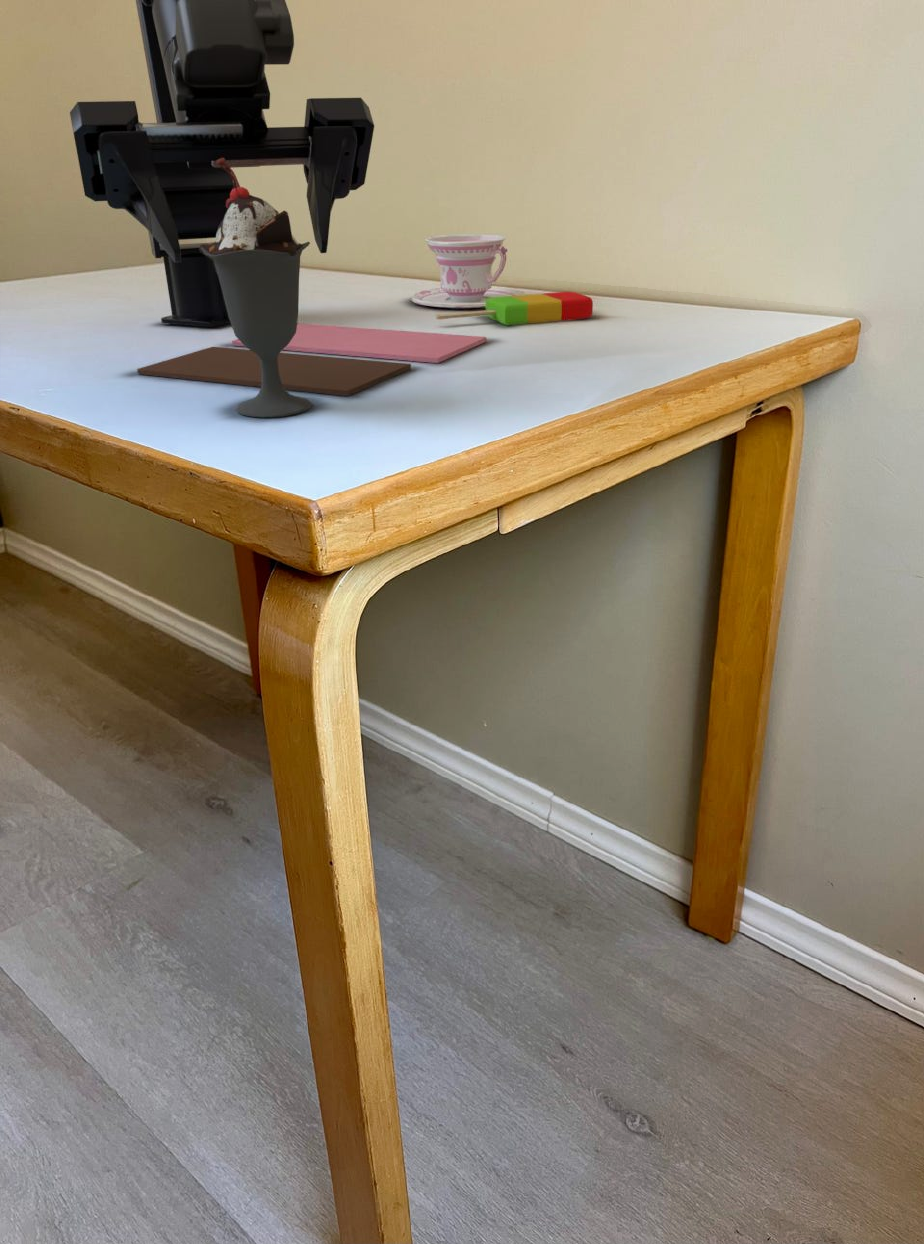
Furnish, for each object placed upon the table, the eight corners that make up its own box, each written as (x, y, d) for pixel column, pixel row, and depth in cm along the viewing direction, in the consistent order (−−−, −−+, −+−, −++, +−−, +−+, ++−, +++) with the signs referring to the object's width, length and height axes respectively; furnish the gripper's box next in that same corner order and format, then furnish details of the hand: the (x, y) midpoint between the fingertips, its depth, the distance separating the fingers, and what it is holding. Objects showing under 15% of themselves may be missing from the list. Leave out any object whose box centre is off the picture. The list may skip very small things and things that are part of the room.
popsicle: (597, 318, 91) (598, 297, 90) (445, 331, 87) (444, 310, 86) (572, 309, 96) (573, 290, 95) (427, 322, 91) (426, 301, 91)
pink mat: (232, 345, 83) (231, 340, 83) (292, 327, 90) (292, 322, 90) (438, 363, 75) (437, 357, 75) (486, 341, 82) (486, 336, 82)
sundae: (228, 397, 67) (196, 157, 60) (326, 393, 67) (305, 154, 60) (215, 423, 61) (177, 160, 54) (321, 418, 61) (298, 156, 55)
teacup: (387, 304, 101) (384, 241, 98) (454, 289, 109) (453, 230, 107) (483, 314, 94) (483, 246, 92) (546, 296, 103) (547, 234, 100)
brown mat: (137, 374, 74) (136, 368, 74) (213, 351, 81) (212, 346, 81) (348, 396, 67) (347, 390, 66) (411, 368, 74) (411, 363, 73)
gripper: (38, -58, 55) (78, 159, 51) (356, -49, 61) (416, 148, 56) (67, 103, 65) (103, 295, 61) (337, 99, 71) (387, 275, 67)
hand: (252, 252), depth 61 cm, fingers open, 9 cm apart
